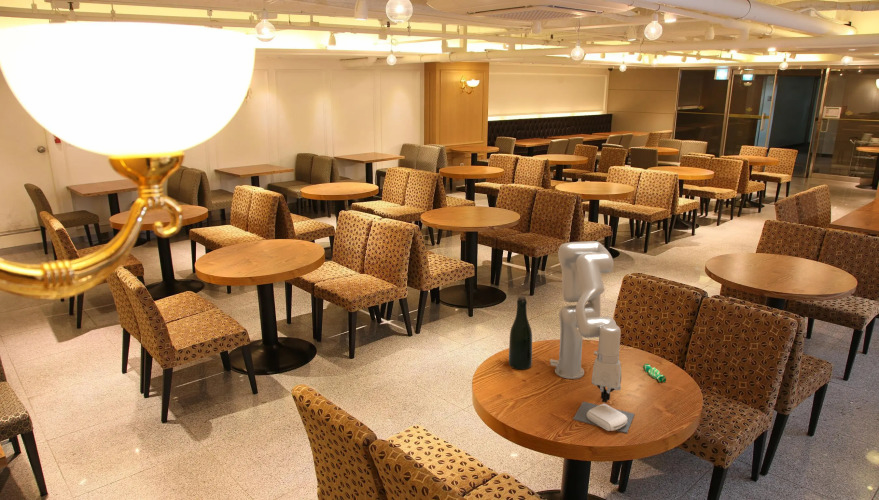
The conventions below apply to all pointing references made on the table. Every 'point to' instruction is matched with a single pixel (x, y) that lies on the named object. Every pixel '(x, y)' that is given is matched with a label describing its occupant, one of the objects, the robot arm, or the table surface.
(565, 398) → the table surface
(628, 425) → the rubber mat
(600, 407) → the photo printer
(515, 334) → the dark green wine bottle
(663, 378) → the candy
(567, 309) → the robot arm
